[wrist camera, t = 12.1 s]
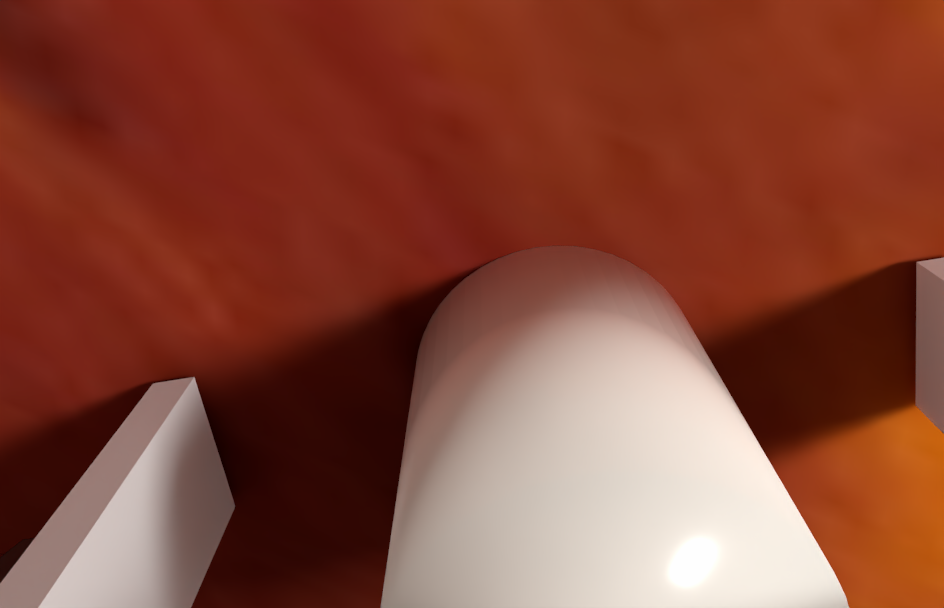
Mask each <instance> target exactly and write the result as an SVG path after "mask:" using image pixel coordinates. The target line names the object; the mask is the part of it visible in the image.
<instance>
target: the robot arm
mask: <svg viewBox="0 0 944 608" xmlns="http://www.w3.org/2000/svg"><path fill="white" fill-rule="evenodd" d="M916 406H917V407H918V408H919V409H920V410H921V411H922V412H923V413H924V414H925V415H926V416H927V417H928V418H929V419H930V420H931V421H932V422H933V423H934V424H935V425H936V426H937V427H938V428H939V429H940V430H941V431H942V432H943V433H944V258H938V259H932V260H926V261H919V262H916ZM234 509H235V504H234V501H233V497H232V494H231V491H230V488H229V485H228V482H227V478H226V475H225V472H224V469H223V466H222V463H221V459H220V456H219V453H218V450H217V447H216V444H215V441H214V437H213V434H212V431H211V428H210V425H209V422H208V418H207V415H206V412H205V409H204V406H203V403H202V399H201V396H200V393H199V390H198V387H197V384H196V380H195V377H190V378H184V379H178V380H171V381H165V382H159V383H153V384H152V385H151V387H150V388H149V389H148V391H147V392H146V393H145V395H144V396H143V397H142V399H141V400H140V401H139V402H138V404H137V405H136V406H135V408H134V409H133V410H132V412H131V413H130V414H129V416H128V417H127V418H126V419H125V421H124V422H123V423H122V425H121V426H120V427H119V429H118V430H117V431H116V433H115V434H114V435H113V437H112V438H111V439H110V440H109V442H108V443H107V444H106V446H105V447H104V448H103V450H102V451H101V452H100V454H99V455H98V456H97V457H96V459H95V460H94V461H93V463H92V464H91V465H90V467H89V468H88V469H87V471H86V472H85V473H84V474H83V476H82V477H81V478H80V480H79V481H78V482H77V484H76V485H75V486H74V488H73V489H72V490H71V492H70V493H69V494H68V495H67V497H66V498H65V499H64V501H63V502H62V503H61V505H60V506H59V507H58V509H57V510H56V511H55V512H54V514H53V515H52V516H51V518H50V519H49V520H48V522H47V523H46V524H45V526H44V527H43V528H42V530H41V531H40V532H39V533H38V535H37V536H36V537H35V538H30V539H24V540H22V541H21V542H19V543H18V544H17V545H15V546H14V547H13V548H11V549H10V550H9V551H8V552H6V553H5V554H4V555H2V556H1V557H0V608H191V606H192V604H193V602H194V600H195V597H196V595H197V593H198V590H199V588H200V586H201V584H202V581H203V579H204V577H205V575H206V572H207V570H208V568H209V565H210V563H211V561H212V559H213V556H214V554H215V552H216V549H217V547H218V545H219V543H220V540H221V538H222V536H223V534H224V531H225V529H226V527H227V524H228V522H229V520H230V518H231V515H232V513H233V511H234Z"/></svg>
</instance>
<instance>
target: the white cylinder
mask: <svg viewBox="0 0 944 608" xmlns="http://www.w3.org/2000/svg"><path fill="white" fill-rule="evenodd" d="M381 608H849V606H848V603H847V599H846V596H845V594H844V592H843V590H842V588H841V586H840V584H839V581H838V579H837V577H836V575H835V573H834V571H833V570H832V568H831V566H830V564H829V563H828V561H827V559H826V558H825V556H824V554H823V552H822V551H821V549H820V547H819V546H818V544H817V542H816V540H815V539H814V537H813V535H812V534H811V532H810V530H809V528H808V527H807V525H806V523H805V522H804V520H803V518H802V516H801V515H800V513H799V511H798V510H797V508H796V506H795V504H794V503H793V501H792V499H791V498H790V496H789V494H788V492H787V491H786V489H785V487H784V486H783V484H782V482H781V480H780V479H779V477H778V475H777V474H776V472H775V470H774V468H773V467H772V465H771V463H770V462H769V460H768V458H767V456H766V455H765V453H764V451H763V450H762V448H761V446H760V444H759V443H758V441H757V439H756V438H755V436H754V434H753V432H752V431H751V429H750V427H749V426H748V424H747V422H746V420H745V419H744V417H743V415H742V414H741V412H740V410H739V408H738V407H737V405H736V403H735V402H734V400H733V398H732V396H731V395H730V393H729V391H728V390H727V388H726V386H725V384H724V383H723V381H722V379H721V378H720V376H719V374H718V372H717V371H716V369H715V367H714V366H713V364H712V362H711V360H710V359H709V357H708V355H707V354H706V352H705V350H704V348H703V347H702V345H701V343H700V342H699V340H698V338H697V336H696V335H695V333H694V331H693V330H692V328H691V326H690V325H689V323H688V321H687V319H686V318H685V316H684V314H683V313H682V311H681V309H680V308H679V306H678V305H677V303H676V302H675V301H674V299H673V298H672V296H671V295H670V294H669V293H668V292H667V291H666V290H665V289H664V287H663V286H662V285H661V284H660V283H659V282H658V281H656V280H655V279H654V278H653V277H651V276H650V275H649V274H648V273H646V272H645V271H644V270H642V269H640V268H639V267H637V266H635V265H634V264H632V263H630V262H629V261H626V260H624V259H622V258H619V257H617V256H615V255H613V254H610V253H606V252H603V251H599V250H596V249H591V248H584V247H578V246H545V247H535V248H531V249H526V250H522V251H518V252H514V253H512V254H509V255H506V256H503V257H501V258H498V259H496V260H494V261H492V262H490V263H488V264H486V265H484V266H482V267H480V268H479V269H478V270H476V271H475V272H473V273H472V274H470V275H469V276H467V277H466V278H465V279H464V280H462V281H461V282H460V283H459V284H458V285H457V286H456V287H455V288H454V289H452V290H451V291H450V293H449V294H448V295H447V296H446V297H445V299H444V300H443V301H442V302H441V303H440V304H439V306H438V308H437V309H436V311H435V312H434V314H433V315H432V317H431V318H430V320H429V323H428V325H427V327H426V329H425V331H424V333H423V336H422V339H421V343H420V346H419V349H418V354H417V361H416V367H415V374H414V381H413V388H412V395H411V402H410V409H409V415H408V422H407V429H406V436H405V443H404V450H403V457H402V463H401V470H400V477H399V484H398V491H397V498H396V505H395V512H394V518H393V525H392V532H391V539H390V546H389V553H388V560H387V566H386V573H385V580H384V587H383V594H382V601H381Z"/></svg>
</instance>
